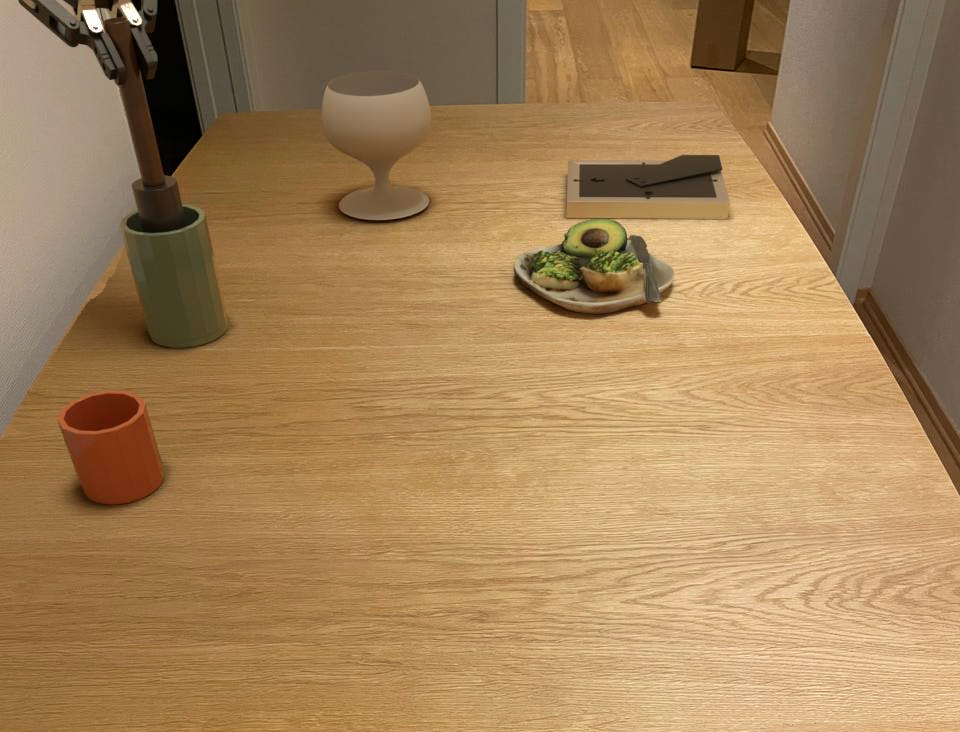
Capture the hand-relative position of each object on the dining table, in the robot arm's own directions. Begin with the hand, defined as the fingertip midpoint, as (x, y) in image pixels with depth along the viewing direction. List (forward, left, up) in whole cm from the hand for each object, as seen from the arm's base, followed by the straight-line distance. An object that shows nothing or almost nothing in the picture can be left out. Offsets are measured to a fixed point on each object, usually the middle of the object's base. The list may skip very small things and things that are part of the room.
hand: (136, 75), depth 92 cm
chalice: (+22, +35, -26) cm, 48 cm away
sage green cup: (-1, +2, -25) cm, 26 cm away
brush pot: (-4, -27, -25) cm, 37 cm away
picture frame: (+57, +32, -26) cm, 70 cm away
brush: (-1, +2, -16) cm, 16 cm away
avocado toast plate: (+45, +7, -26) cm, 52 cm away
